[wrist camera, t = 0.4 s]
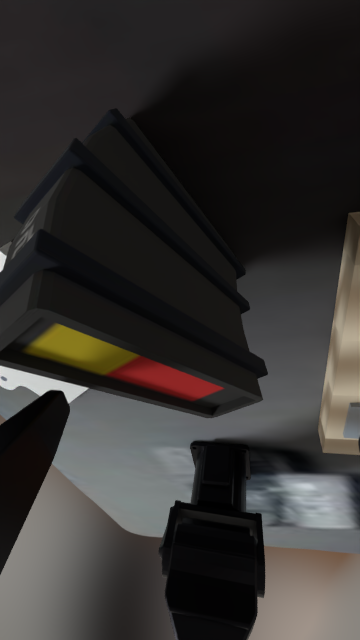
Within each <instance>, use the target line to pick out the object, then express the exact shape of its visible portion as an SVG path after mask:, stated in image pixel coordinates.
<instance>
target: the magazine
mask: <svg viewBox="0 0 360 640" xmlns="http://www.w3.org/2000/svg"><path fill="white" fill-rule="evenodd" d="M14 218H15V219H16V220H17V221H19V222H20V223H22V224H23V226H22V227H21V229H20V230H19V232H18V234H17V235H16V237H15V238H14V240H13V242H12V243H11V245H10V247H9V250H8V253H7V257H6V260H5V264H4V267H3V270H2V271H1V272H0V366H3V367H7V368H11V369H15V370H19V371H23V372H27V373H31V374H35V375H39V376H43V377H47V378H51V379H55V380H59V381H63V382H67V383H71V384H75V385H78V386H82V387H86V388H90V389H94V390H98V391H102V392H106V393H110V394H114V395H118V396H122V397H126V398H130V399H134V400H138V401H142V402H146V403H150V404H154V405H158V406H162V407H166V408H170V409H174V410H178V411H182V412H186V413H190V414H194V415H197V416H201V417H205V418H214V417H218V416H220V415H223V414H226V413H229V412H232V411H235V410H237V409H240V408H243V407H246V406H249V405H252V404H254V403H257V402H260V401H262V400H263V398H262V394H261V391H260V387H259V384H258V380H257V379H258V378H260V377H263V376H266V375H267V374H268V372H267V369H266V366H265V362H264V360H263V359H261V358H259V357H258V356H256V355H254V354H253V353H251V352H250V351H249V348H248V344H247V341H246V337H245V334H244V330H243V325H242V319H241V314H242V313H244V312H246V311H248V310H250V306H249V302H248V301H247V300H246V299H245V298H244V297H243V296H242V295H240V294H239V293H238V292H237V283H236V280H237V279H239V278H240V277H242V276H243V275H245V269H244V267H243V266H242V265H241V264H240V262H239V261H238V260H237V259H236V256H235V255H234V253H233V252H232V251H231V249H230V248H229V247H228V245H227V244H226V243H225V242H224V240H223V239H222V238H221V236H220V235H219V234H218V232H217V231H216V230H215V228H214V227H213V226H212V224H211V223H210V222H209V220H208V219H207V218H206V216H205V215H204V214H203V212H202V211H201V210H200V208H199V207H198V206H197V204H196V203H195V202H194V200H193V199H192V198H191V196H190V195H189V194H188V192H187V191H186V190H185V188H184V187H183V186H182V184H181V183H180V182H179V180H178V179H177V178H176V176H175V175H174V174H173V172H172V171H171V170H170V168H169V167H168V166H167V164H166V163H165V162H164V160H163V159H162V158H161V156H160V155H159V154H158V153H157V151H156V150H155V149H154V147H153V146H152V145H151V143H150V142H149V141H148V139H147V138H146V137H145V135H144V134H143V133H142V131H141V130H140V129H139V127H138V126H137V125H136V123H135V122H134V121H133V120H132V119H130V118H128V119H125V118H124V117H123V116H122V114H121V113H120V112H119V111H118V109H112V110H109V111H108V112H107V113H106V114H105V116H104V117H103V118H102V119H101V120H100V122H99V123H98V124H97V125H96V126H95V128H94V129H93V130H92V131H91V133H90V134H89V135H88V136H87V137H86V139H85V140H84V141H83V142H82V143H81V142H80V141H79V140H78V139H77V138H75V139H73V141H72V142H71V143H70V144H69V146H68V147H67V148H66V149H65V151H64V152H63V153H62V155H61V156H60V157H59V158H58V160H57V161H56V162H55V163H54V165H53V166H52V167H51V168H50V170H49V171H48V172H47V173H46V175H45V176H44V177H43V178H42V180H41V181H40V182H39V183H38V185H37V186H36V187H35V188H34V190H33V191H32V192H31V193H30V195H29V196H28V197H27V198H26V200H25V201H24V202H23V203H22V205H21V206H20V208H19V209H18V211H17V213H16V214H15V216H14Z"/></svg>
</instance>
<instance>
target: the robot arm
mask: <svg viewBox="0 0 360 640" xmlns="http://www.w3.org/2000/svg"><path fill="white" fill-rule="evenodd" d="M69 413H70V406H69V404H68V401H67V399H66V397H65V394H64V392H63V391H61V390H49V391H47V392H45V393H44V394H43V395H41V396H40V397H39V398H37V399H36V400H34V401H33V402H32V403H30V404H29V405H27V406H26V407H25V408H23V409H22V410H20V411H19V412H18V413H16V414H15V415H14V416H12V417H11V418H9V419H8V420H7V421H5V422H4V423H3V424H1V425H0V574H1V572H2V570H3V568H4V566H5V563H6V561H7V559H8V557H9V555H10V552H11V550H12V548H13V546H14V544H15V542H16V540H17V537H18V535H19V533H20V530H21V529H22V527H23V524H24V522H25V520H26V518H27V516H28V514H29V511H30V509H31V507H32V505H33V503H34V500H35V498H36V496H37V494H38V492H39V490H40V488H41V485H42V483H43V481H44V479H45V477H46V474H47V472H48V470H49V468H50V466H51V464H52V461H53V459H54V456H55V454H56V451H57V448H58V445H59V442H60V439H61V437H62V434H63V431H64V428H65V425H66V422H67V419H68V416H69ZM358 446H359V452H360V437H359V440H358ZM190 449H191V453H192V457H193V461H194V465H195V475H194V482H193V490H192V497H191V503H184V502H181V501H178V500H176V501H175V505H174V506H173V507H171V508H170V513H169V519H168V523H167V527H166V530H165V533H164V536H163V539H162V542H161V545H160V547H159V556H160V557H161V560H162V575H163V577H164V578H167V582H166V589H165V599H166V603H167V607H168V611H169V615H170V619H171V623H172V627H173V631H174V635H175V639H176V640H248V638H249V636H250V634H251V632H252V629H253V626H254V623H255V620H256V617H257V597H261V598H264V593H265V555H264V542H263V529H262V516H261V514H260V513H256V514H254V513H247V512H246V480H250V478H251V473H250V459H249V448H248V447H247V446H244V445H229V444H213V443H197V442H193V443H191V445H190Z"/></svg>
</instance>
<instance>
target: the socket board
mask: <svg viewBox="0 0 360 640" xmlns="http://www.w3.org/2000/svg"><path fill="white" fill-rule="evenodd" d="M318 432H319V437H320V442H321V446H322V451H323V453H336V454H352V455H360V452H359V446H358V440H359V437H360V212H354V213H348V220H347V227H346V234H345V241H344V248H343V255H342V262H341V269H340V276H339V284H338V291H337V298H336V305H335V312H334V319H333V326H332V333H331V340H330V347H329V354H328V361H327V368H326V375H325V382H324V389H323V396H322V403H321V410H320V417H319V424H318Z"/></svg>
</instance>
